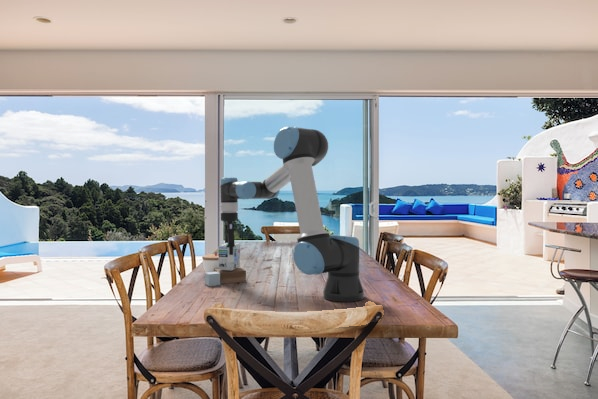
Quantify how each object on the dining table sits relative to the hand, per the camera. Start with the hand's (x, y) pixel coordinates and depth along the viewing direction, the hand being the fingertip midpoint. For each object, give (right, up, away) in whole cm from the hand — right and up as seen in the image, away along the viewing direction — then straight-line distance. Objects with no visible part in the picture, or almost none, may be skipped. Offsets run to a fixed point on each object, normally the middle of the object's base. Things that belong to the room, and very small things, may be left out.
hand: (229, 259), depth 199 cm
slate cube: (-6, -9, -10) cm, 15 cm away
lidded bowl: (-8, -9, +12) cm, 17 cm away
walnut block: (0, -9, 0) cm, 9 cm away
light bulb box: (0, -4, 0) cm, 4 cm away
